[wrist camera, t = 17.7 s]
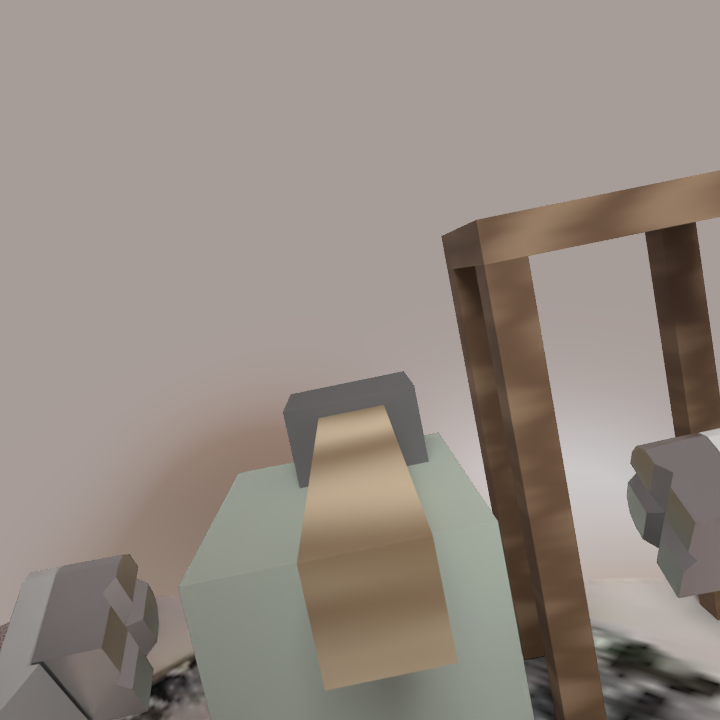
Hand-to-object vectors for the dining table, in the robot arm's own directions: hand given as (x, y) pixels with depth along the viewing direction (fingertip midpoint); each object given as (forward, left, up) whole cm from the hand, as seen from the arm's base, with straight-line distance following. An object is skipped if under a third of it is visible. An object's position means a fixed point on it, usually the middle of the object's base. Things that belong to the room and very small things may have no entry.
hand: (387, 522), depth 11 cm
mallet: (0, +10, -3) cm, 10 cm away
